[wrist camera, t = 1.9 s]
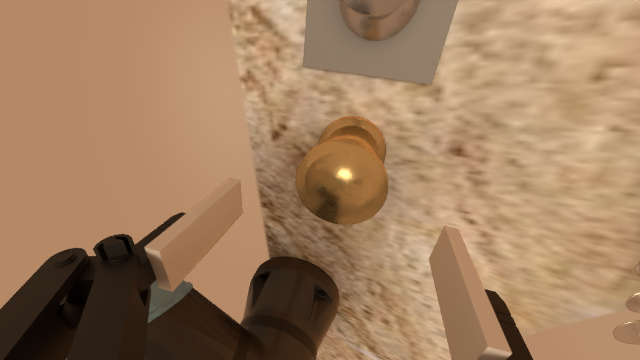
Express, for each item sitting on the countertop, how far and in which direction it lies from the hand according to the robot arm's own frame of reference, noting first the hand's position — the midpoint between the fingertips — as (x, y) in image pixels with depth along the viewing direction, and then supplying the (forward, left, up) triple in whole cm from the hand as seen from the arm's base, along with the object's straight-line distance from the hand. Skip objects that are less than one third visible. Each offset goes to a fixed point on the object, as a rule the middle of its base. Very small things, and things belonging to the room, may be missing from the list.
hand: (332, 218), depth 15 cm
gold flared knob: (0, 0, -14) cm, 14 cm away
